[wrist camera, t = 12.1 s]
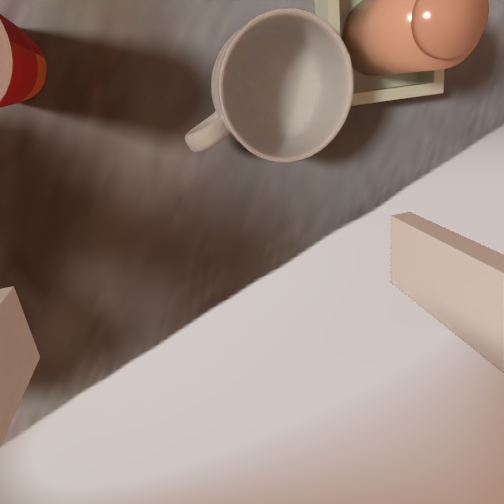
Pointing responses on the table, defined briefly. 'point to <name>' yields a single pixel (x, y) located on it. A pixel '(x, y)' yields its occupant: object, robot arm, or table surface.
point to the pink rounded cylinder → (412, 34)
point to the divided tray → (383, 86)
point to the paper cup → (19, 65)
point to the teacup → (279, 87)
